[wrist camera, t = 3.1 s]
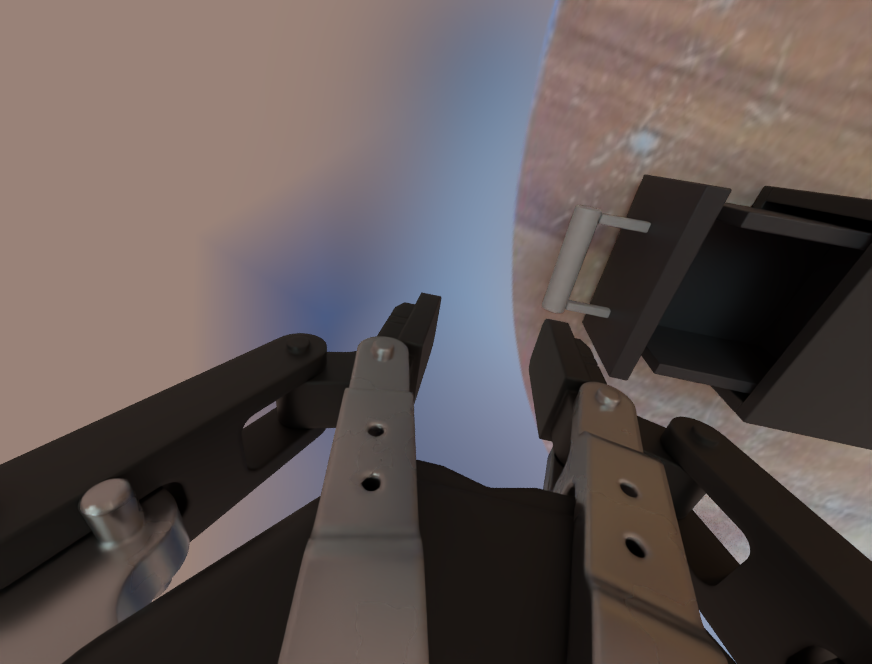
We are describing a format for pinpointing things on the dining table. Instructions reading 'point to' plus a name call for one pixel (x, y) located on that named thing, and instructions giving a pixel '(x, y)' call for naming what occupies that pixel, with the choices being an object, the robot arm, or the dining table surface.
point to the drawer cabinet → (821, 343)
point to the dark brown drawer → (702, 282)
